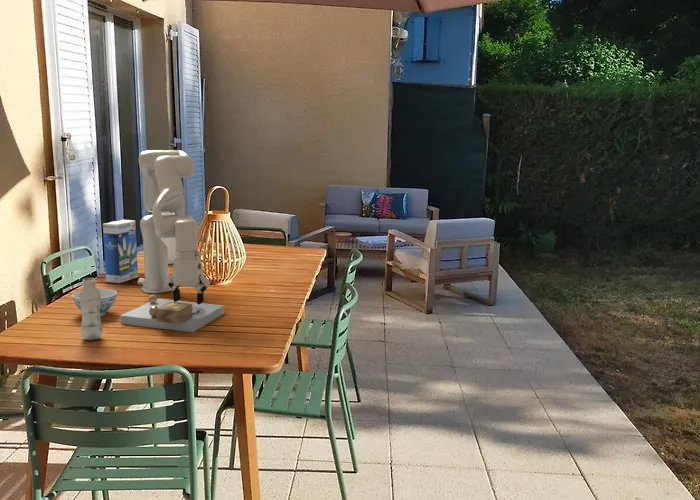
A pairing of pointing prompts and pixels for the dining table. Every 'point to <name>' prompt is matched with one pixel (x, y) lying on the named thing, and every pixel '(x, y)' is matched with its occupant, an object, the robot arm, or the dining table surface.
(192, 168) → the robot arm
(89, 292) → the plastic bottle
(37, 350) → the dining table surface
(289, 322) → the dining table surface
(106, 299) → the chinaware
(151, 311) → the bronze ball
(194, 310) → the steel boule
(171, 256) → the bottle
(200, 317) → the hole board
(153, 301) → the ball
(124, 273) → the string lights box
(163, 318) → the walnut cover
